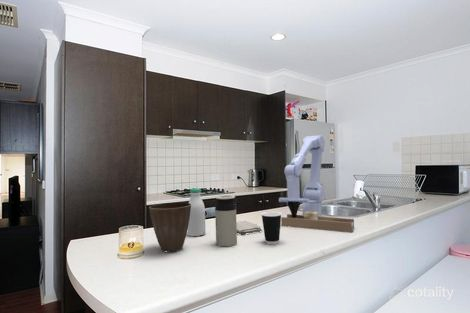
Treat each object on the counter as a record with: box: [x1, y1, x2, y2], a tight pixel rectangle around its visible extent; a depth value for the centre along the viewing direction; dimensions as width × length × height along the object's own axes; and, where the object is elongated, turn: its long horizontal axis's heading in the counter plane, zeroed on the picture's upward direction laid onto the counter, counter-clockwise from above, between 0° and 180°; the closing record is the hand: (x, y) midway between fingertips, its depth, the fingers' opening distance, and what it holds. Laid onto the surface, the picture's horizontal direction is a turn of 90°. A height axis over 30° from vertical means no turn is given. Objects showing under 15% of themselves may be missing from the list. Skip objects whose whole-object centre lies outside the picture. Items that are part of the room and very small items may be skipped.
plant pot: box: [148, 201, 191, 253], centre depth 101 cm, size 15×15×16 cm
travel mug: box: [214, 194, 238, 247], centre depth 106 cm, size 8×8×18 cm
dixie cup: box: [260, 211, 282, 245], centre depth 106 cm, size 8×8×11 cm
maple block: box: [304, 211, 318, 220], centre depth 129 cm, size 5×5×4 cm
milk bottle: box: [187, 187, 206, 237], centre depth 120 cm, size 8×8×20 cm
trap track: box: [281, 213, 355, 234], centre depth 128 cm, size 31×9×4 cm, turn 60°
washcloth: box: [236, 220, 263, 234], centre depth 127 cm, size 12×18×3 cm, turn 29°
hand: (294, 217), depth 133 cm, fingers closed
